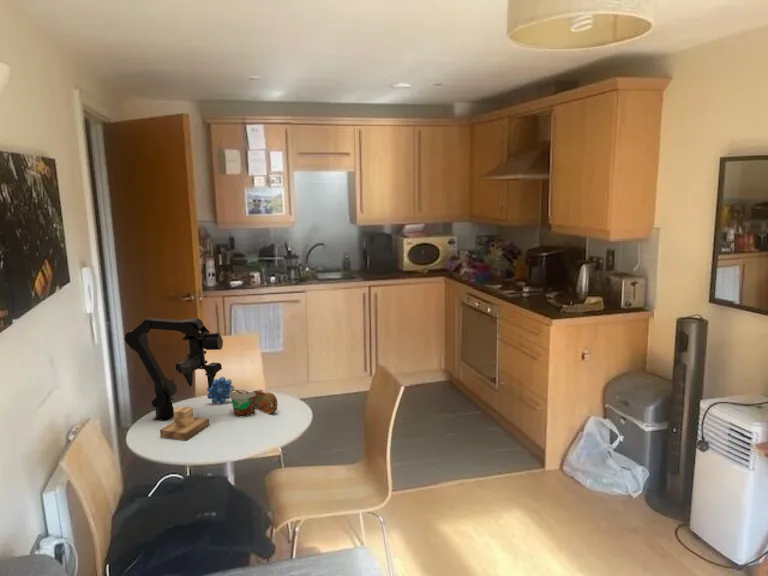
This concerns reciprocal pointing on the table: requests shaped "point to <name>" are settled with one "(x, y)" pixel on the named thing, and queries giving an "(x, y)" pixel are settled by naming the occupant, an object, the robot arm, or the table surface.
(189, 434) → the walnut board
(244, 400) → the food container
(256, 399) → the tin
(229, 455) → the table surface
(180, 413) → the oak block
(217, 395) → the grapes
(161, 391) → the robot arm
